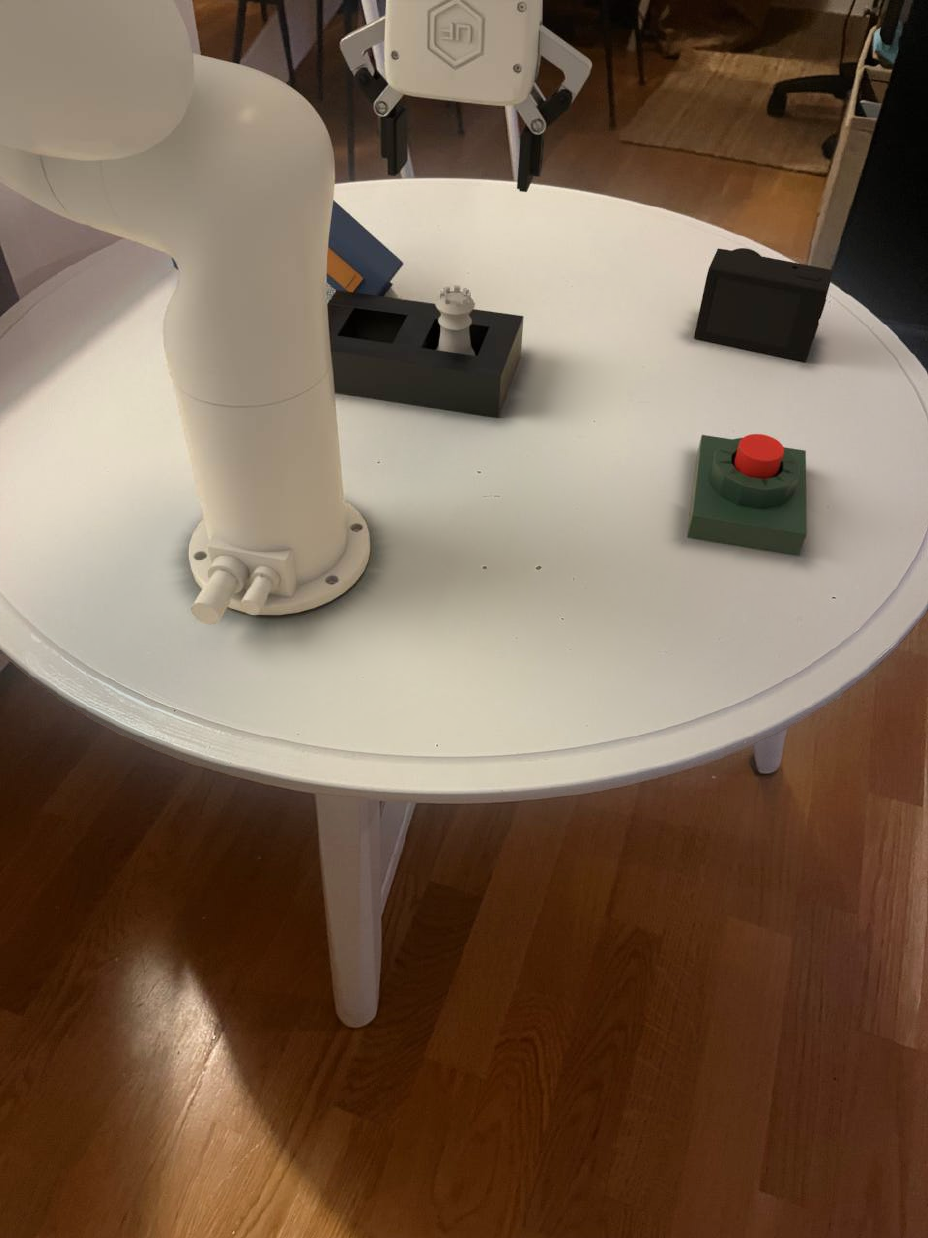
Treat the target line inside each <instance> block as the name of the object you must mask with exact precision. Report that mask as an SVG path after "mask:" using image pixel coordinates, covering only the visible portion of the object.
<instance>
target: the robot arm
mask: <svg viewBox="0 0 928 1238" xmlns="http://www.w3.org/2000/svg"><path fill="white" fill-rule="evenodd" d="M543 3H544V2H543V0H385V14H384V15H382V16H380V17H378V18H376V19H374V20H372V21H370V22H369V23H366V24H365V25H363V26H361V27H358V28H357V29H355V30H352V31H351V32H349V33H348V34H346V35H345V36H344V37H343V38H342V39H341V40H340V42H339V48H340V51H341V54H342V56H343V58H344V60H345V62H346V63H347V67H348V68H349V70H350V72H351V73H352V75H353V81H354V84H355V85H356V87H357V88H358V89H359V91H361V93H362V94H363V95H364V96H365V97H366V99H367V100H368V101H369V102H370V104H372V105H373V106H372V107H373V112H374V113H375V114H376V116H378V117H379V129H380V131H379V132H380V156H381V158H382V159H386V161H387V162H386V163H387V165H386V166H387V175H388V176H391V177H396V176H397V175H400V173H401V171H402V170H403V169H404V167H405V166H406V164H407V162H408V159H409V156H408V155H409V151H408V150H409V149H408V148H409V147H408V145H409V144H408V143H409V140H408V139H409V138H408V108H407V107H406V104H404V103H403V99H402V98H403V97H404V96H409V97H416V98H422V99H432V100H438V101H439V100H440V101H448V102H459V103H465V104H466V103H467V104H474V105H475V104H476V105H485V106H486V105H487V106H495V107H496V106H498V107H511V106H513V107H514V108H515V109H516V111H517V112H518V115H519V116H520V117H521V119H522V120H523V122H524V123H525V126H524V128H523V129H522V132H521V134H520V137H519V138H520V140H519V151H518V152H519V153H518V167H517V179H516V181H517V182H516V189H517V190H518V191H519V192H521V193H527V192H528V190H529V188H530V185H531V183H532V181H533V179H534V177H535V178H536V177H537V178H539V177H541V174H542V170H543V163H544V152H545V140H546V129H547V128H548V127H550V126H551V125H552V124H553V123H554V122H556V120H558V119H559V118H560V117H561V116H562V115H563V114H564V113H565V112H566V111H568V110H569V109H570V107H571V106H572V104H573V102H574V101H575V99H576V98H577V96H578V94H579V92H580V91H581V90H582V88H583V86H584V84H585V83H586V81H587V80H588V77H589V76H590V74H591V71H592V69H593V63H592V61H591V59H590V58H588V57H587V56H586V55H585V54H583V53H581V51H579V50H578V49H576V48H575V47H574V46H572V45H571V44H569V43H568V42H566V41H565V40H564V39H562V38H561V37H560V36H558V35H557V34H556V33H554V32H553V31H551V30H550V29H549V28H548V27H546V26H545V25H543V7H544V6H543ZM382 42H383V43H384V45H383V46H384V48H383V49H384V51H383V56H384V59H383V60H384V74H385V77H384V76H383V74H381V72H380V71H379V70H378V68H377V67H375V65H374V64H372V62H371V57H370V56H369V52H368V51H369V49H370V48H373V47H374V46H377V45H378V44H380V43H382ZM541 58H543V59H545V60H547V61H548V62H549V63H551V64H552V65H553V66H555V67H556V68H558V69H559V70H560V71H561V72H562V73H563V74H564V75H563V76H564V79H563V81H562V82H561V85H560V86H559V87H558V88H557V89H556V90H554V92H553V93H552V94H551V95H549V96H548V97H547V98H545V96H544V94H543V93H542V90H540V87H539V86H538V85H537V83H536V81H537V80H538V76H539V73H540V67H541ZM328 131H329V130H328V129H327V127H326V125H325V122H324V121H323V119H322V117H321V116H320V114H319V113H318V111H317V110H316V109H315V107H314V106H313V105H312V104H311V103H310V102H309V100H307V99H306V97H304V96H303V95H302V94H301V93H299V92H298V90H296V89H294V88H293V87H291V86H290V85H289V84H287V83H285V82H284V81H282V80H280V79H279V78H276V77H274V76H273V75H270V74H268V73H266V72H264V71H261V70H259V69H256V68H252V67H249V66H246V65H244V64H240V63H236V62H231V61H227V60H223V59H218V58H214V57H210V56H206V55H201V54H198V53H194V52H193V48H192V43H191V39H190V35H189V33H188V30H187V27H186V25H185V22H184V19H183V17H182V15H181V13H180V11H179V8H178V6H177V4H176V2H175V0H0V183H1V184H2V185H4V186H6V188H7V187H8V188H9V189H11V190H13V191H14V192H16V193H17V194H19V195H20V196H23V197H24V198H25V199H28V200H30V201H31V202H33V203H35V204H36V205H38V206H41V207H42V208H45V209H46V210H47V211H50V212H52V213H54V214H56V215H58V216H61V217H63V218H65V219H68V220H70V221H72V222H75V223H78V224H81V225H84V226H87V227H89V228H93V229H94V230H98V231H102V232H104V233H108V234H110V235H114V236H116V237H120V238H123V239H127V240H129V241H133V242H136V243H139V244H142V245H144V246H145V247H148V248H151V249H154V250H157V251H160V252H162V253H164V254H166V255H168V256H169V257H170V258H171V257H172V258H173V259H174V261H175V262H176V264H177V267H178V270H179V271H178V270H177V271H178V279H177V285H176V287H175V290H174V291H173V293H172V295H171V298H170V300H169V302H168V304H167V305H166V309H165V312H164V316H163V319H162V343H163V350H164V354H165V355H164V356H165V359H166V363H167V369H168V372H169V377H170V379H171V381H172V387H173V390H174V394H175V400H176V404H177V408H178V412H179V417H180V421H181V425H182V429H183V434H184V439H185V444H186V447H187V451H188V456H189V460H190V461H189V462H190V466H191V469H192V474H193V478H194V482H195V487H196V491H197V497H198V501H199V504H200V508H201V512H202V516H203V518H202V520H200V522H198V525H197V526H196V528H195V529H194V531H193V533H192V536H191V538H190V541H189V545H188V559H189V565H190V569H191V573H192V574H193V575H192V576H193V577H194V580H195V582H196V583H197V585H198V586H199V588H200V589H201V591H200V592H199V594H198V595H197V597H196V599H195V601H194V602H193V604H192V606H191V608H190V609H191V613H192V615H193V616H194V617H195V618H196V620H198V621H200V622H201V623H204V624H207V625H216V624H217V623H219V622H221V619H222V617H223V615H224V614H225V612H226V610H227V608H229V609H232V610H235V611H238V612H241V613H245V614H247V615H250V616H283V615H291V614H297V613H301V612H304V611H309V610H313V609H316V608H318V607H320V606H324V605H326V604H327V603H330V602H332V601H333V600H335V599H337V598H338V597H340V596H341V595H343V594H344V593H346V592H347V591H348V590H349V589H350V588H352V587H353V585H355V584H356V583H357V582H358V580H359V579H360V577H361V576H362V575H363V573H364V572H365V570H366V567H367V565H368V562H369V561H370V560H369V559H370V555H371V554H370V553H371V540H370V539H371V536H370V532H369V527H368V525H367V524H368V523H367V522H366V521H365V519H364V517H363V516H362V514H361V513H360V511H358V509H356V508H355V506H353V505H352V504H351V503H349V502H348V501H346V500H345V494H344V483H343V474H342V473H343V471H342V462H341V461H342V460H341V450H340V439H339V438H340V437H339V429H338V428H339V427H338V414H337V403H336V393H335V390H334V378H333V367H332V357H331V349H330V337H329V324H328V309H327V304H328V283H327V253H328V241H329V231H330V222H331V214H332V206H333V200H334V197H335V183H336V165H335V164H336V163H335V161H336V160H335V154H334V149H333V144H332V140H331V137H330V134H329V132H328ZM172 258H171V259H172Z"/></svg>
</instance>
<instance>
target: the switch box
mask: <svg viewBox="0 0 928 1238" xmlns="http://www.w3.org/2000/svg"><path fill="white" fill-rule="evenodd" d="M744 437H745V436H743V437H737V438H726V437H721V436H720V437H719V436H713V435H705V434H701V436H700V440H699V444H698V448H697V452H696V456H695V457H696V458H695V464H694V465H695V466H694V475H693V476H694V477H693V482H692V493H691V501H690V509H689V518H688V526H687V535H686V537H687V538H689V539H693V540H701V541H705V542H712V543H717V544H725V545H730V546H735V547H742V548H748V549H753V550H759V551H760V550H761V551H765V552H772V553H778V554H784V555H789V556H796V557H799V556H800V553H801V551H802V547H803V546H804V543H805V540H806V537H807V534H808V531H807V526H808V525H807V451H806V450H804V449H798V448H791V447H785V446H783V448H784V454H783V458H782V461H781V464H780V467H779V470H778V473H777V474H776V475H775V476H774V477H772V478H767V479H760V478H753V477H749V476H747V475H745V474H743V473H741V472H739V471H738V470H737V469H736V468H735V465H734V461H735V457H736V453H737V450H738V446H739V443H740V441H741V439H742V438H744Z"/></svg>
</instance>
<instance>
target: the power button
mask: <svg viewBox="0 0 928 1238" xmlns="http://www.w3.org/2000/svg"><path fill="white" fill-rule="evenodd" d="M743 437H744V438H743ZM743 437H741V438H742V439H741V441H740V443H739V446H738V450H737V453H736V457H735V461H734V465H735V468H736V469H737V470H738V471H739V472H741V473H743V474H745V475H747V476H749V477H753V478H760V479H767V478H772V477H774V476H775V475H776V474H777V473H778V470H779V467H780V464H781V461H782V458H783V454H784V448H783V447H784V446H783V444H782V443H781V442H780V440H777V438H774V437H773V436H769V435H767V434H762V433H761V434H759V433H753V434H748V435H745V436H743Z"/></svg>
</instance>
